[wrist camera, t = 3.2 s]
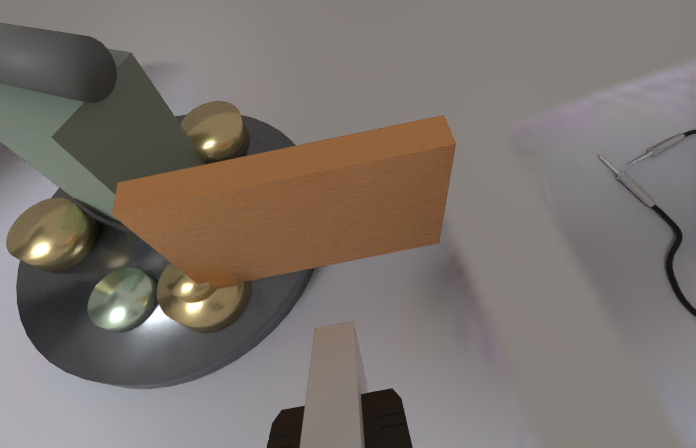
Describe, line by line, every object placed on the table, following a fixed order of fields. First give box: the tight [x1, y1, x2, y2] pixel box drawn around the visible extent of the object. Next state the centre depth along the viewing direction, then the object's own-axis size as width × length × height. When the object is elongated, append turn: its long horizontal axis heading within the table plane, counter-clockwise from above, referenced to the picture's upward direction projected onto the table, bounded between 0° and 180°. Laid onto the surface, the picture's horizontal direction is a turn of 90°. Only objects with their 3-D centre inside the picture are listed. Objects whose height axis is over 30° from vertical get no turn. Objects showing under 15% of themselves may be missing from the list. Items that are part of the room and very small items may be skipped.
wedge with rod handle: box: [0, 23, 205, 221], centre depth 22 cm, size 8×6×12 cm
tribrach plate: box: [6, 101, 314, 389], centre depth 25 cm, size 20×20×4 cm
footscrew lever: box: [112, 115, 456, 334], centre depth 18 cm, size 15×4×10 cm, turn 99°
